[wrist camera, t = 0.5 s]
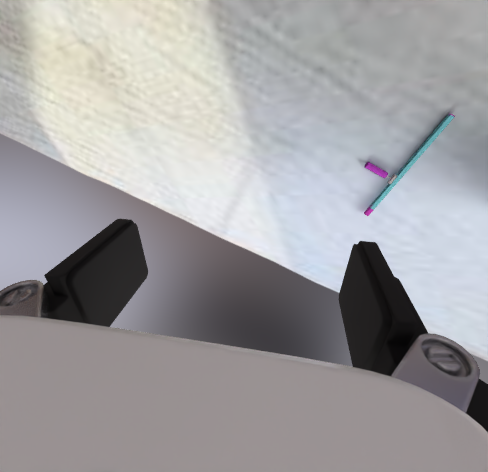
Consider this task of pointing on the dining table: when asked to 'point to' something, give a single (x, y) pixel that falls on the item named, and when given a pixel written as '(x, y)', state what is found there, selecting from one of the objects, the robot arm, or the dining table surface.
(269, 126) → the dining table surface
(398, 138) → the dining table surface
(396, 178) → the squeegee
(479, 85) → the dining table surface
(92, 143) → the dining table surface
